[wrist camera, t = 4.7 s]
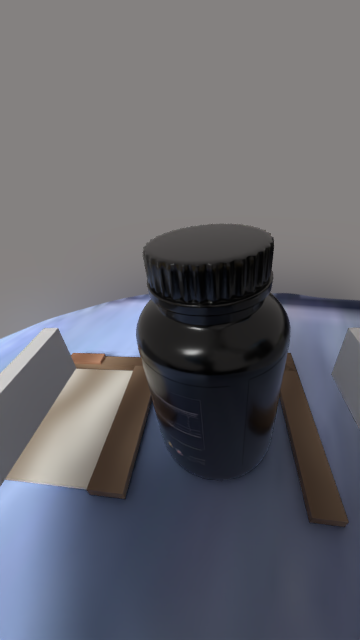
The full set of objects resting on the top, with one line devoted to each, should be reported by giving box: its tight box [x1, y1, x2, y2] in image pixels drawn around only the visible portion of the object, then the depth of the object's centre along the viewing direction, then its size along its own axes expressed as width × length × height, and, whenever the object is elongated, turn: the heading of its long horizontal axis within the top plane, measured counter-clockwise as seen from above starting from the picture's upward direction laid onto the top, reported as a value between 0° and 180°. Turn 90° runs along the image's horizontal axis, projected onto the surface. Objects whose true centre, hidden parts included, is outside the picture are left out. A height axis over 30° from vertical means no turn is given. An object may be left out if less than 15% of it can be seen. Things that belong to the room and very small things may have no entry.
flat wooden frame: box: [5, 353, 349, 527], centre depth 17 cm, size 23×11×1 cm, turn 82°
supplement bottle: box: [136, 224, 290, 480], centre depth 12 cm, size 7×7×12 cm
